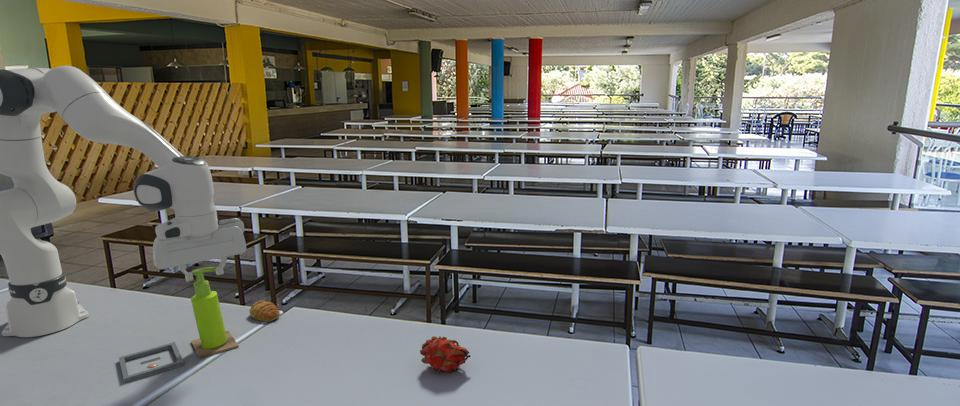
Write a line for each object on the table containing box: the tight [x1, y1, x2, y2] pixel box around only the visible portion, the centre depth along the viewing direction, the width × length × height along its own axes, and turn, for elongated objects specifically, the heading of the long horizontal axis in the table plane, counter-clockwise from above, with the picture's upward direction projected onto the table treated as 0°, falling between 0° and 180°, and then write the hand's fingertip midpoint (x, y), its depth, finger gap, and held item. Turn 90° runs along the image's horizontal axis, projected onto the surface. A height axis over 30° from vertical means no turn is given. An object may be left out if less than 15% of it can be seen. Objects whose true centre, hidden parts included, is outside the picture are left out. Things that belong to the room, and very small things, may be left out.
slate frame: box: [118, 341, 185, 384], centre depth 127 cm, size 12×12×1 cm
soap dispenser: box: [190, 266, 227, 349], centre depth 133 cm, size 6×7×20 cm
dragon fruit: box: [419, 335, 471, 374], centre depth 123 cm, size 8×8×12 cm
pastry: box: [249, 300, 281, 322], centre depth 151 cm, size 9×7×4 cm
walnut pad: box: [190, 330, 239, 359], centre depth 136 cm, size 10×9×1 cm
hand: (204, 277), depth 131 cm, fingers closed on soap dispenser, 5 cm apart
